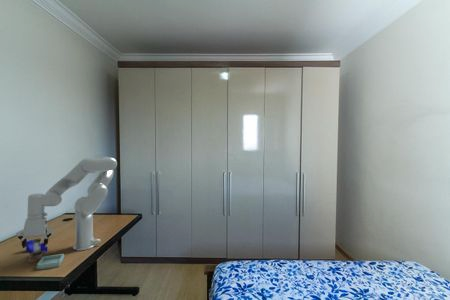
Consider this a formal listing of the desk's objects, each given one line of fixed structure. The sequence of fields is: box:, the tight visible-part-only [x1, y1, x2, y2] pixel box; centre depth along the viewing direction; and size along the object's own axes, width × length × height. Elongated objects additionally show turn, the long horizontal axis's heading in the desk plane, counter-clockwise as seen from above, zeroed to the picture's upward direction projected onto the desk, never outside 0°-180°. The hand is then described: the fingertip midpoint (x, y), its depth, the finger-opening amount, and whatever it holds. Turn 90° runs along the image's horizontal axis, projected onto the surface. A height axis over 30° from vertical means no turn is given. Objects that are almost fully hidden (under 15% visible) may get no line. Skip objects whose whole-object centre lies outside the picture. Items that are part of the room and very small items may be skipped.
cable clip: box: [25, 239, 48, 254], centre depth 143 cm, size 12×4×6 cm, turn 70°
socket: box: [27, 251, 46, 263], centre depth 135 cm, size 6×6×3 cm
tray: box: [35, 253, 65, 271], centre depth 129 cm, size 10×10×2 cm
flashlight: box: [32, 237, 42, 255], centre depth 134 cm, size 4×4×11 cm
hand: (35, 246), depth 134 cm, fingers open, 9 cm apart
